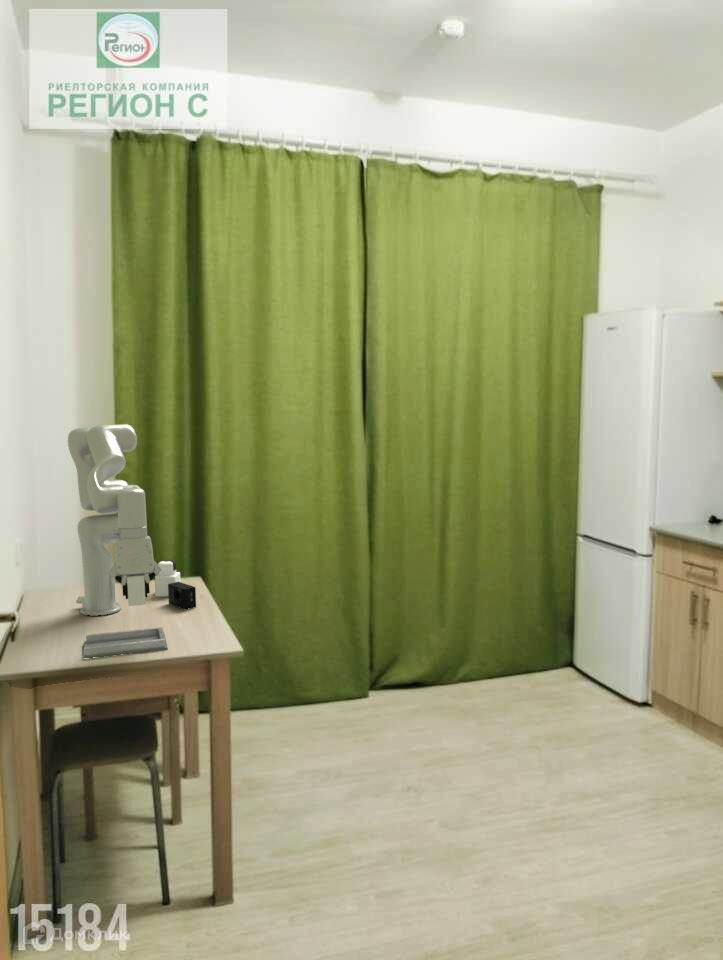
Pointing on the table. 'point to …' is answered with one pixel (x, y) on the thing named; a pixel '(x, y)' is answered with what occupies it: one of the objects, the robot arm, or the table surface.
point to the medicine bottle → (166, 577)
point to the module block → (136, 589)
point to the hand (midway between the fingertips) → (136, 596)
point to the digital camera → (182, 595)
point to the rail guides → (125, 646)
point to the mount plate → (124, 642)
